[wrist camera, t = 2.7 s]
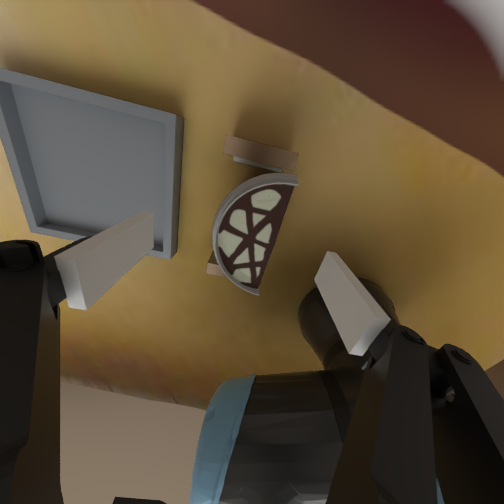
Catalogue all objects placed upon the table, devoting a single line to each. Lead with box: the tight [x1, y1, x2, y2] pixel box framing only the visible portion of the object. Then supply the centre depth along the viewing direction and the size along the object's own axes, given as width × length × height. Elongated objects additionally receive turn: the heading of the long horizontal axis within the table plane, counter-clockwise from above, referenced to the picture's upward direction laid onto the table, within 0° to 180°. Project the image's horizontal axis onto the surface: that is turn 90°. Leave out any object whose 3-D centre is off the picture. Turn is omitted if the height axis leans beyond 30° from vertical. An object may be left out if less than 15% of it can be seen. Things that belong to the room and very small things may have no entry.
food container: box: [212, 173, 299, 296], centre depth 21 cm, size 12×6×10 cm, turn 165°
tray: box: [0, 68, 184, 260], centre depth 23 cm, size 18×17×2 cm
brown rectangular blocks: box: [206, 135, 299, 278], centre depth 23 cm, size 7×16×5 cm, turn 167°
